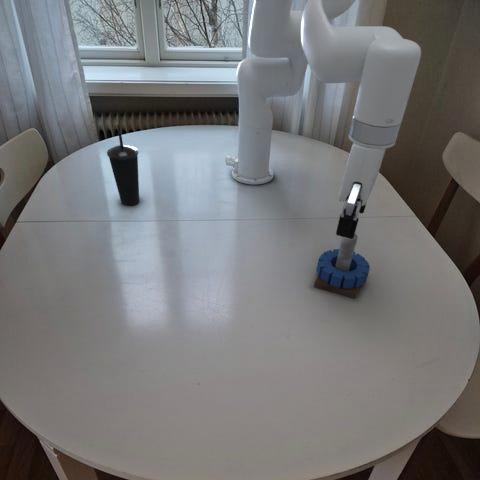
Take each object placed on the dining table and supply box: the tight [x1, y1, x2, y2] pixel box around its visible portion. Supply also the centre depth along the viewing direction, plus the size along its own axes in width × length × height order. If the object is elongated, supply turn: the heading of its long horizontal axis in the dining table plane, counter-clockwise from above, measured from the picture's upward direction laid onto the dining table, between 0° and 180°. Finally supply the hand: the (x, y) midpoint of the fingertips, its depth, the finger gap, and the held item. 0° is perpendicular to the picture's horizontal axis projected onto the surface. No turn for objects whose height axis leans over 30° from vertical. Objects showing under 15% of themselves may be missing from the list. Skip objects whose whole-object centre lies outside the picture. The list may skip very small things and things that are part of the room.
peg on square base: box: [313, 233, 360, 299], centre depth 91 cm, size 9×9×12 cm
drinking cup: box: [106, 124, 140, 207], centre depth 110 cm, size 8×8×20 cm
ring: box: [316, 248, 371, 289], centre depth 93 cm, size 11×11×3 cm
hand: (350, 223), depth 81 cm, fingers open, 9 cm apart
